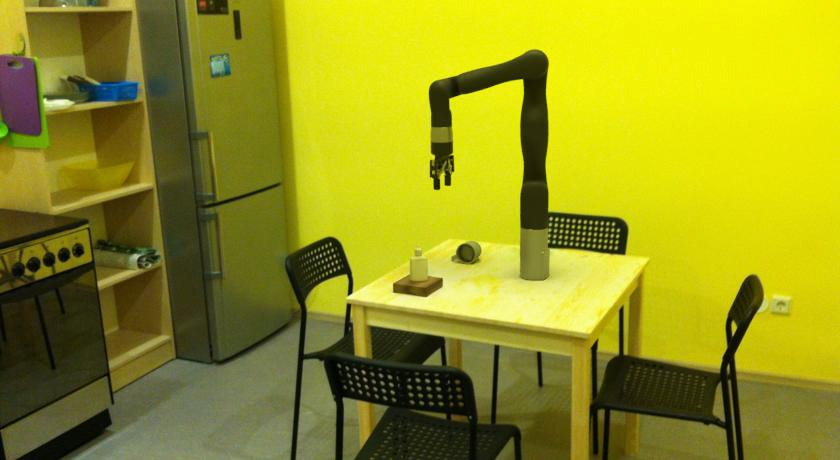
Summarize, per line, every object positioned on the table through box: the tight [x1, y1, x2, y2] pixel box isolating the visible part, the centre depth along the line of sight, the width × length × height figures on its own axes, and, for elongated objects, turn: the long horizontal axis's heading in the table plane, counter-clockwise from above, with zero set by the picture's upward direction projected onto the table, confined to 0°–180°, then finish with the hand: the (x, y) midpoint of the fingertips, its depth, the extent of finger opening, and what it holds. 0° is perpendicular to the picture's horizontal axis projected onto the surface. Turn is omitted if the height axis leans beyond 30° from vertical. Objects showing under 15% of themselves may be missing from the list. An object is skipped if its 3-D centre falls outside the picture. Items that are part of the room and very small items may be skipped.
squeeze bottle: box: [409, 244, 429, 282], centre depth 261 cm, size 4×6×12 cm
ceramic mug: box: [451, 240, 482, 265], centre depth 296 cm, size 11×8×8 cm
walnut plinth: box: [392, 273, 444, 298], centre depth 263 cm, size 12×12×3 cm
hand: (442, 187), depth 275 cm, fingers open, 8 cm apart
